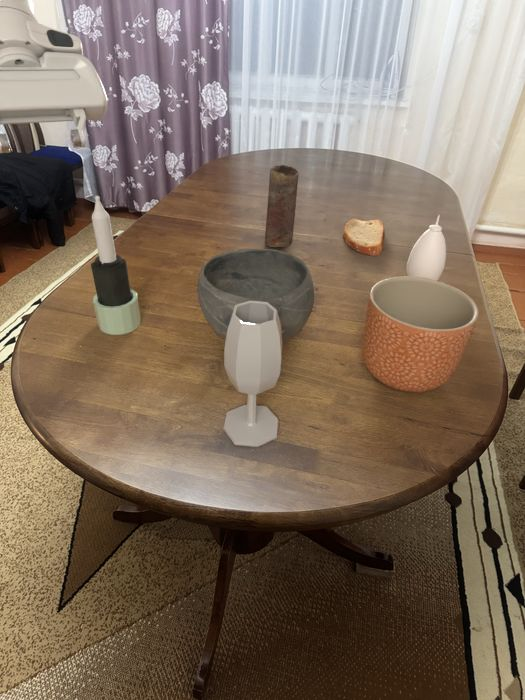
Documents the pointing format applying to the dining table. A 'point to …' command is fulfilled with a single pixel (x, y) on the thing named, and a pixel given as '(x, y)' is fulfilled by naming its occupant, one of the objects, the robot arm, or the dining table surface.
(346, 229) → the slice of bread
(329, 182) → the dining table surface
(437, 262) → the sauce bottle
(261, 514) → the dining table surface
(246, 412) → the wineglass
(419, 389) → the planter
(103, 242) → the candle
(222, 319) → the bowl
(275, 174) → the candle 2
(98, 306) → the holder
